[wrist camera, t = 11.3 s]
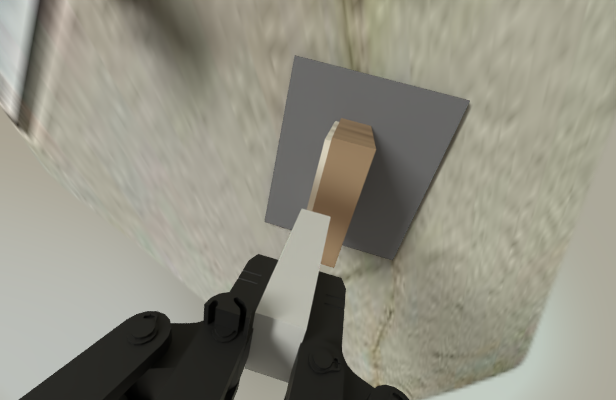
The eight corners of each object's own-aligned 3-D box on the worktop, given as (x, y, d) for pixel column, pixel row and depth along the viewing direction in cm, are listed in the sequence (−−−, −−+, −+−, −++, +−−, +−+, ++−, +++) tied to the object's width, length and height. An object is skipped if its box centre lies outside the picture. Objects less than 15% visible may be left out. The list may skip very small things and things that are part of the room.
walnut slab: (336, 116, 22) (325, 135, 15) (371, 125, 22) (375, 149, 15) (312, 207, 26) (294, 255, 19) (341, 215, 26) (333, 267, 19)
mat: (296, 55, 21) (294, 55, 21) (467, 99, 21) (470, 100, 20) (266, 219, 29) (264, 221, 28) (392, 256, 28) (392, 260, 27)
